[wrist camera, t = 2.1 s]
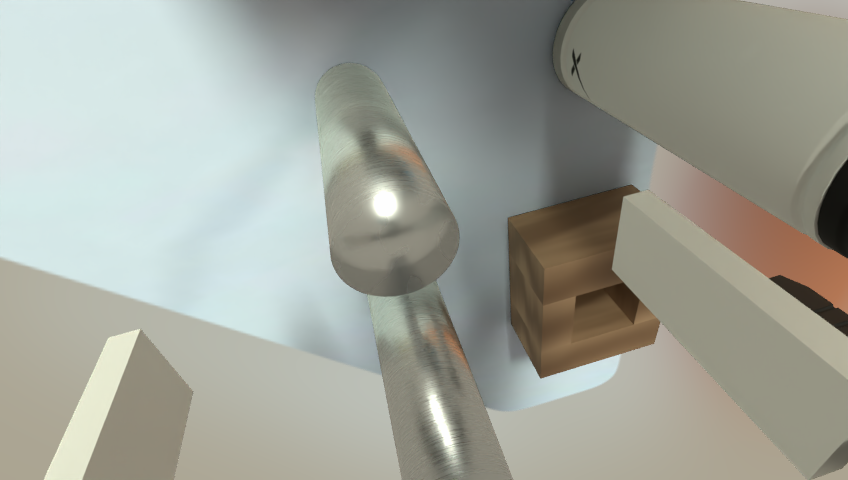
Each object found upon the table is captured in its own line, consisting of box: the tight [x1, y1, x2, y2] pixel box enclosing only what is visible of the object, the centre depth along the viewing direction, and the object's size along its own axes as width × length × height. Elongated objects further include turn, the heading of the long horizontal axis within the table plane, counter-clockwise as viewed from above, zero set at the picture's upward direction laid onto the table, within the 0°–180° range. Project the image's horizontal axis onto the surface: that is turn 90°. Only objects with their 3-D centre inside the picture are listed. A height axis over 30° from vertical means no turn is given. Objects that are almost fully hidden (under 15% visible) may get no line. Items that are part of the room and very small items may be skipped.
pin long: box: [367, 280, 513, 480], centre depth 23 cm, size 4×4×18 cm
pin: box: [315, 63, 459, 297], centre depth 19 cm, size 4×4×14 cm
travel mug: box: [553, 0, 848, 258], centre depth 18 cm, size 6×7×20 cm
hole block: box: [508, 185, 660, 378], centre depth 34 cm, size 12×10×6 cm
